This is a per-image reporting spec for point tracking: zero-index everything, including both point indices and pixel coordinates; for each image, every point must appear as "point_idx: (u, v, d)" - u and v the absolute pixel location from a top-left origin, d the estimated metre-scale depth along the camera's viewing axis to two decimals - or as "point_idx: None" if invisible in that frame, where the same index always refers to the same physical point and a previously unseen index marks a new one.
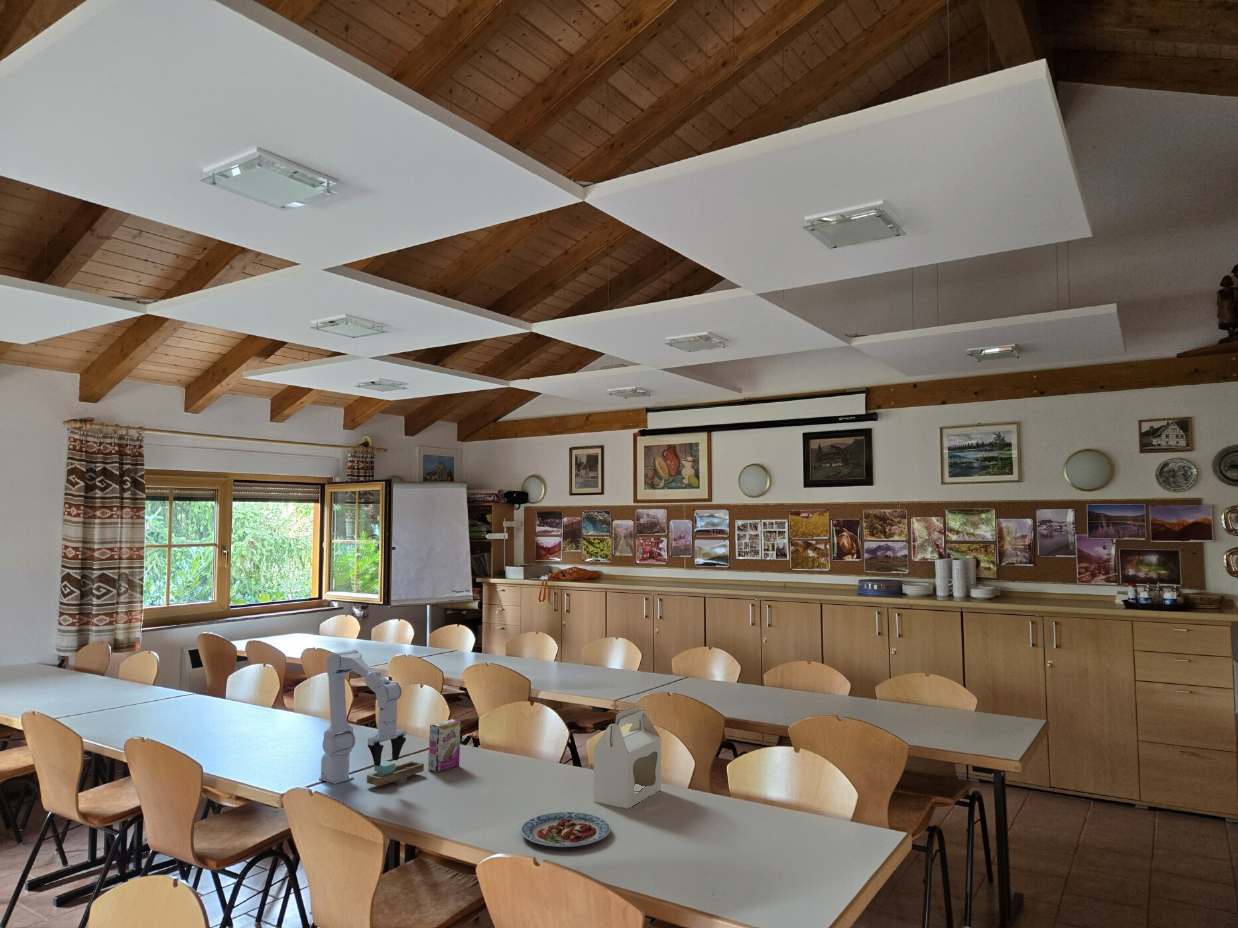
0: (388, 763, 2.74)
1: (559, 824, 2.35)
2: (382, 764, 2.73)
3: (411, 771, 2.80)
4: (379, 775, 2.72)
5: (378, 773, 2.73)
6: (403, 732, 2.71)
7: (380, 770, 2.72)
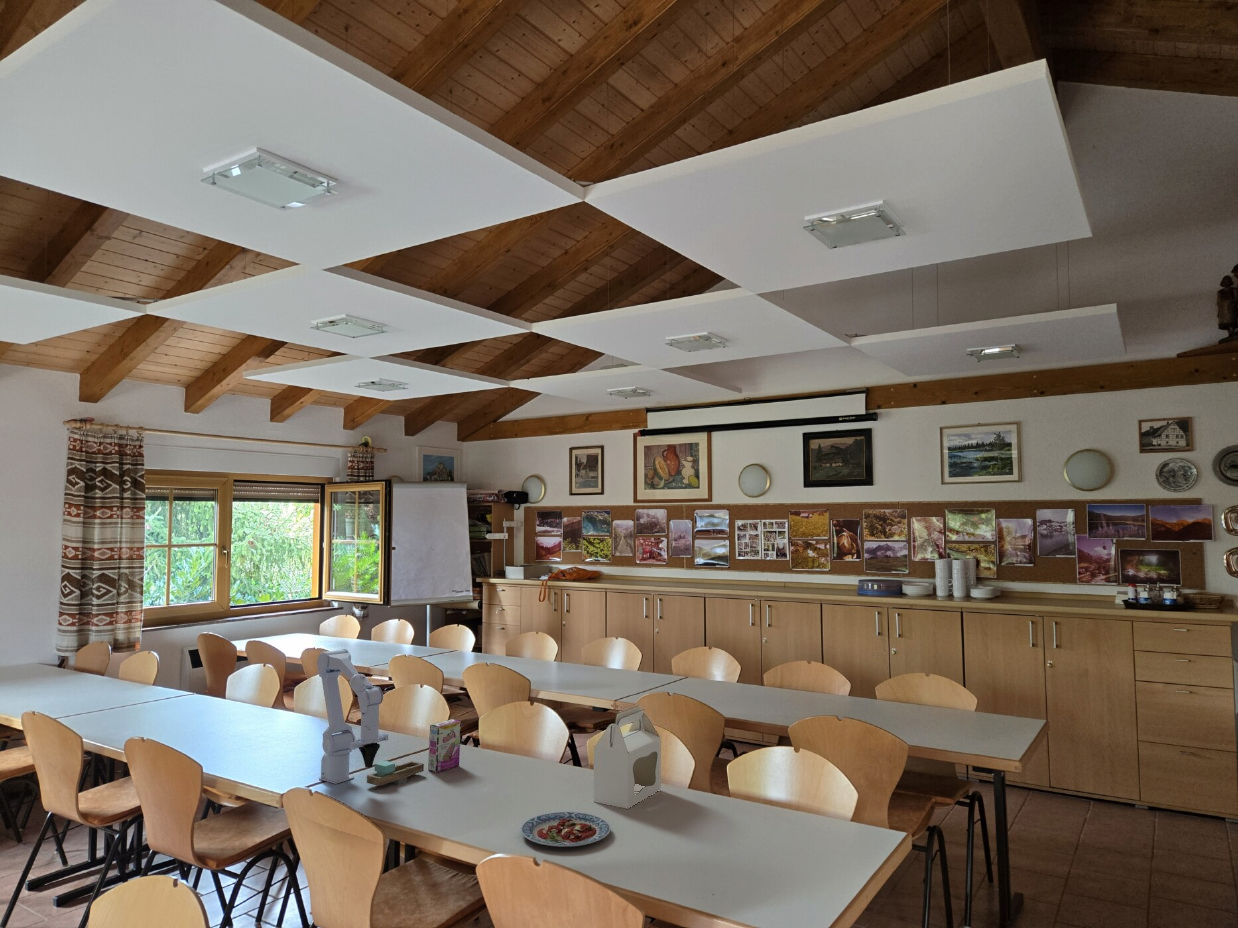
0: (388, 763, 2.74)
1: (559, 824, 2.35)
2: (382, 764, 2.73)
3: (411, 771, 2.80)
4: (379, 775, 2.72)
5: (378, 773, 2.73)
6: (385, 736, 2.73)
7: (380, 770, 2.72)
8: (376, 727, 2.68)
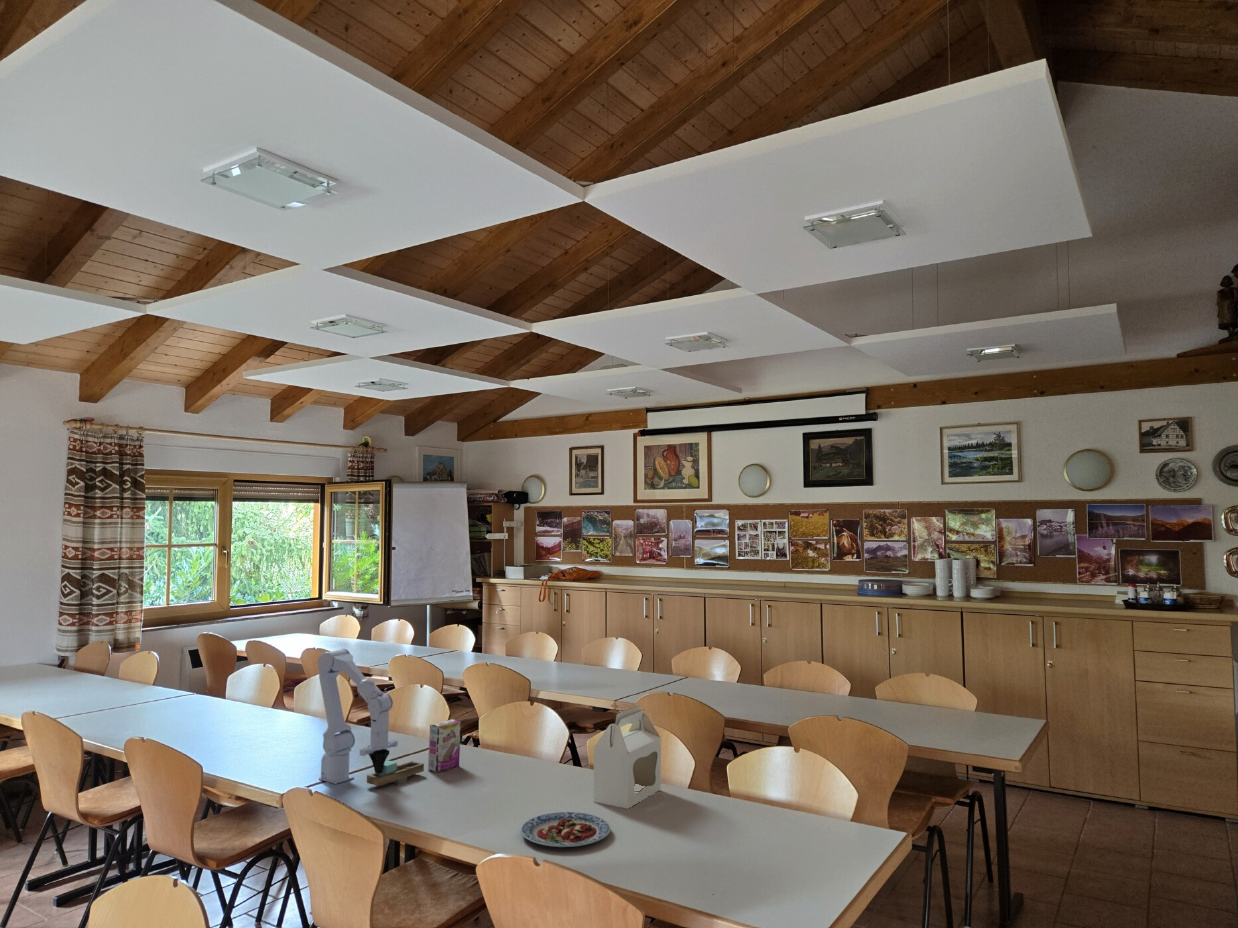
0: (390, 762, 2.75)
1: (559, 824, 2.35)
2: (384, 763, 2.74)
3: (411, 771, 2.80)
4: (381, 774, 2.73)
5: None
6: (395, 743, 2.77)
7: None
8: (386, 734, 2.72)
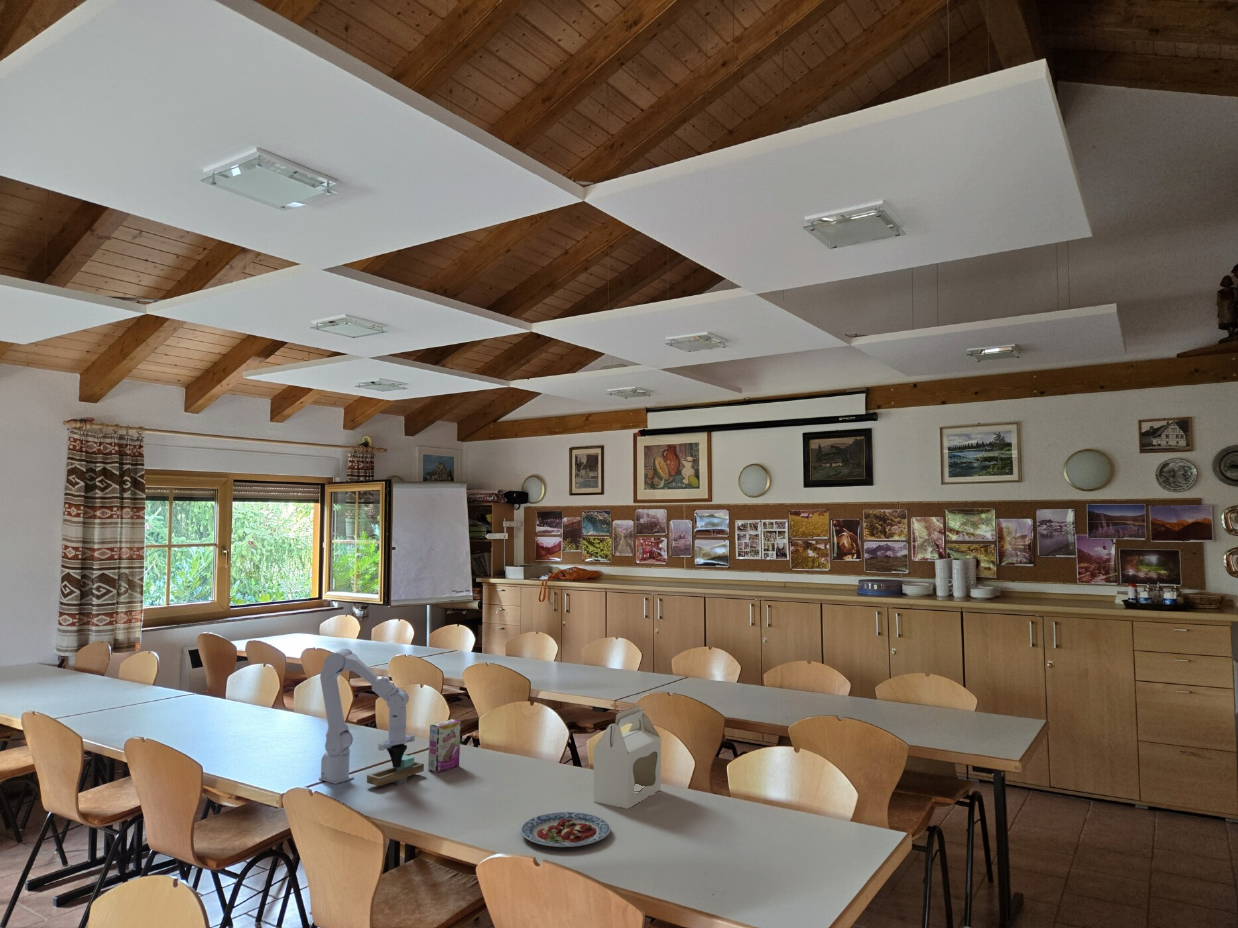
0: (407, 757, 2.81)
1: (559, 824, 2.35)
2: None
3: (411, 771, 2.80)
4: (399, 769, 2.80)
5: (398, 767, 2.80)
6: (412, 738, 2.83)
7: (400, 764, 2.79)
8: (403, 729, 2.78)
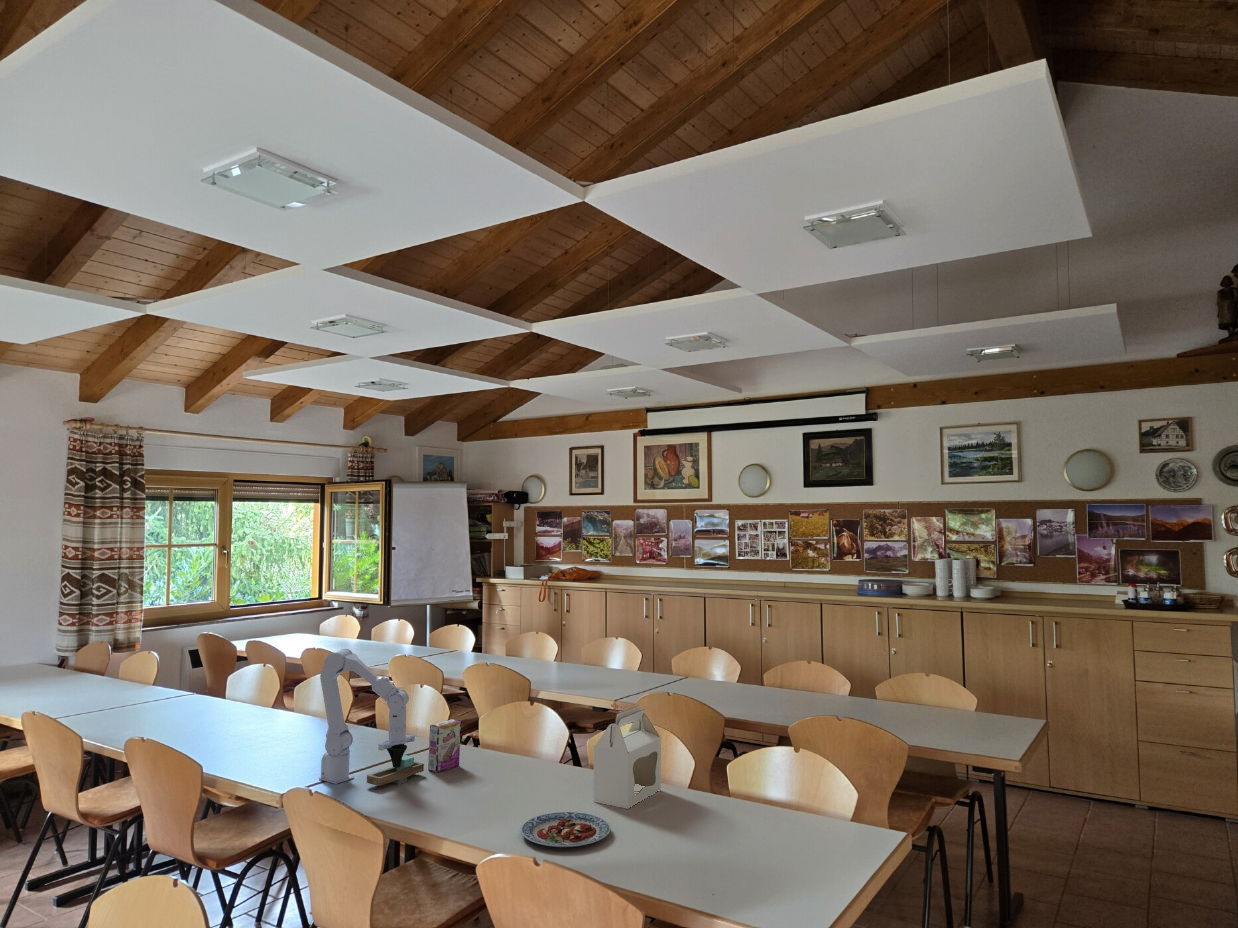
0: (407, 757, 2.81)
1: (559, 824, 2.35)
2: None
3: (411, 771, 2.80)
4: (399, 769, 2.80)
5: (398, 767, 2.80)
6: (412, 738, 2.83)
7: (400, 764, 2.79)
8: (403, 729, 2.78)
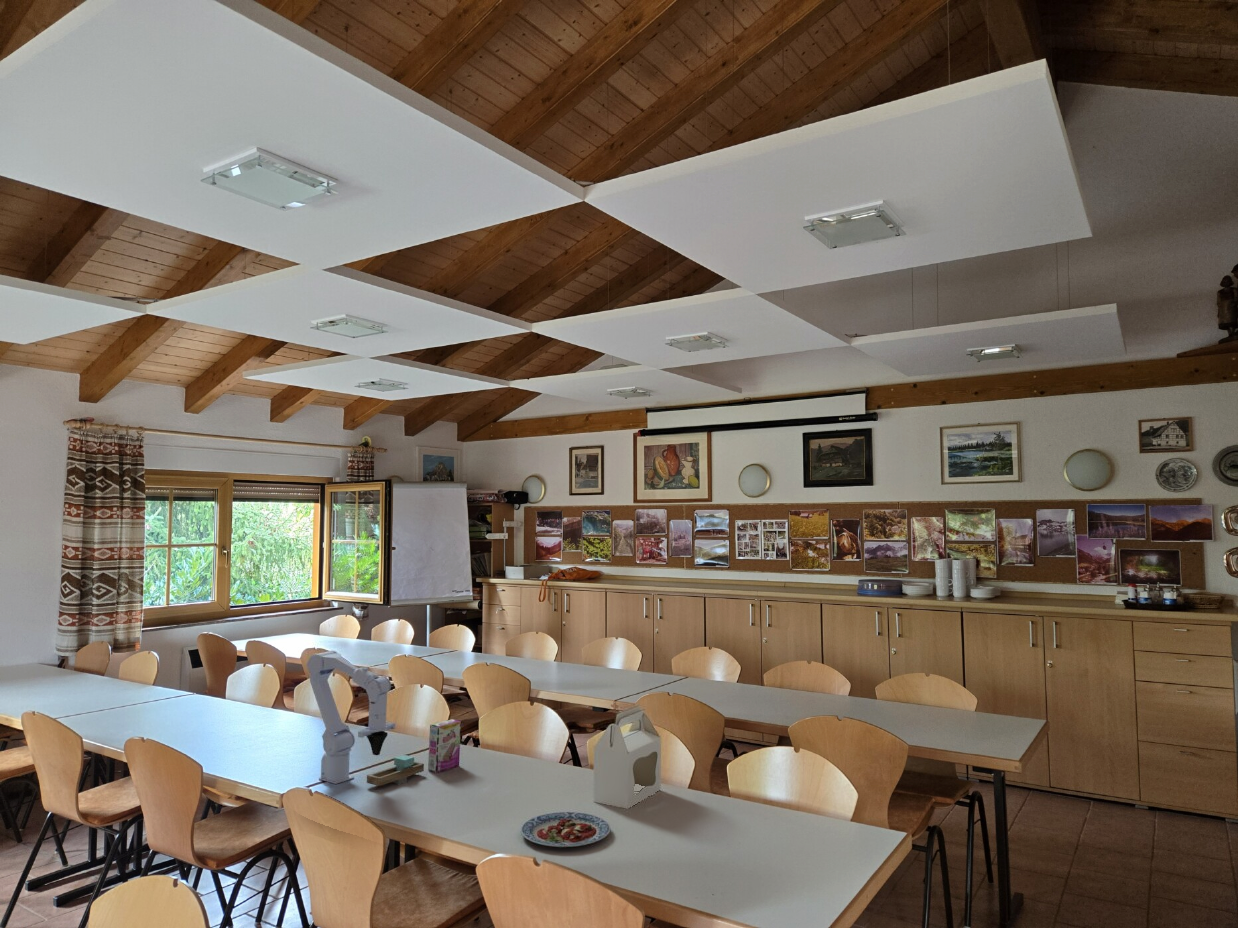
0: (407, 757, 2.81)
1: (559, 824, 2.35)
2: (401, 758, 2.80)
3: (411, 771, 2.80)
4: (399, 769, 2.80)
5: (398, 767, 2.80)
6: (392, 725, 2.79)
7: (400, 764, 2.79)
8: (384, 716, 2.74)
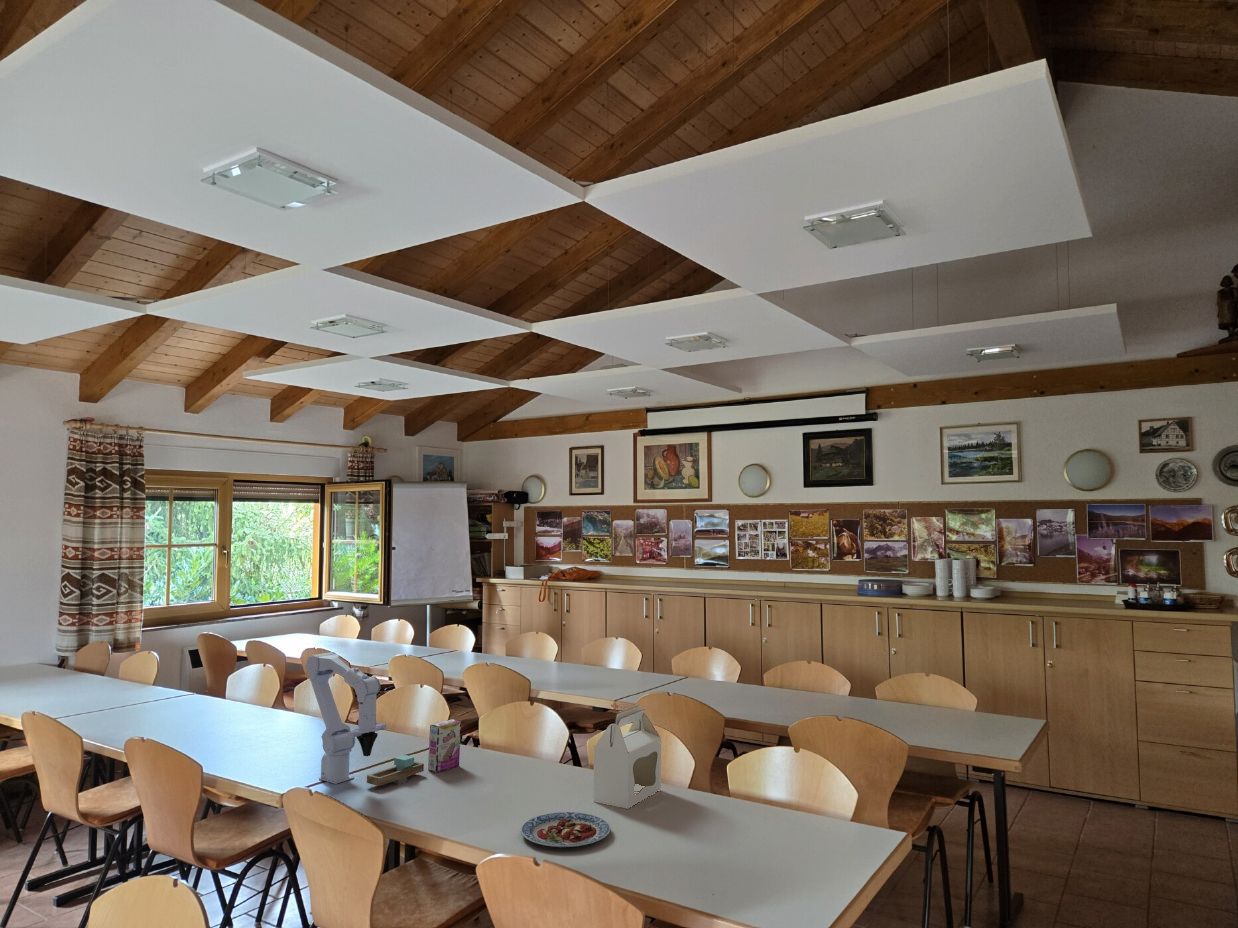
0: (407, 757, 2.81)
1: (559, 824, 2.35)
2: (401, 758, 2.80)
3: (411, 771, 2.80)
4: (399, 769, 2.80)
5: (398, 767, 2.80)
6: (383, 726, 2.77)
7: (400, 764, 2.79)
8: (374, 716, 2.72)
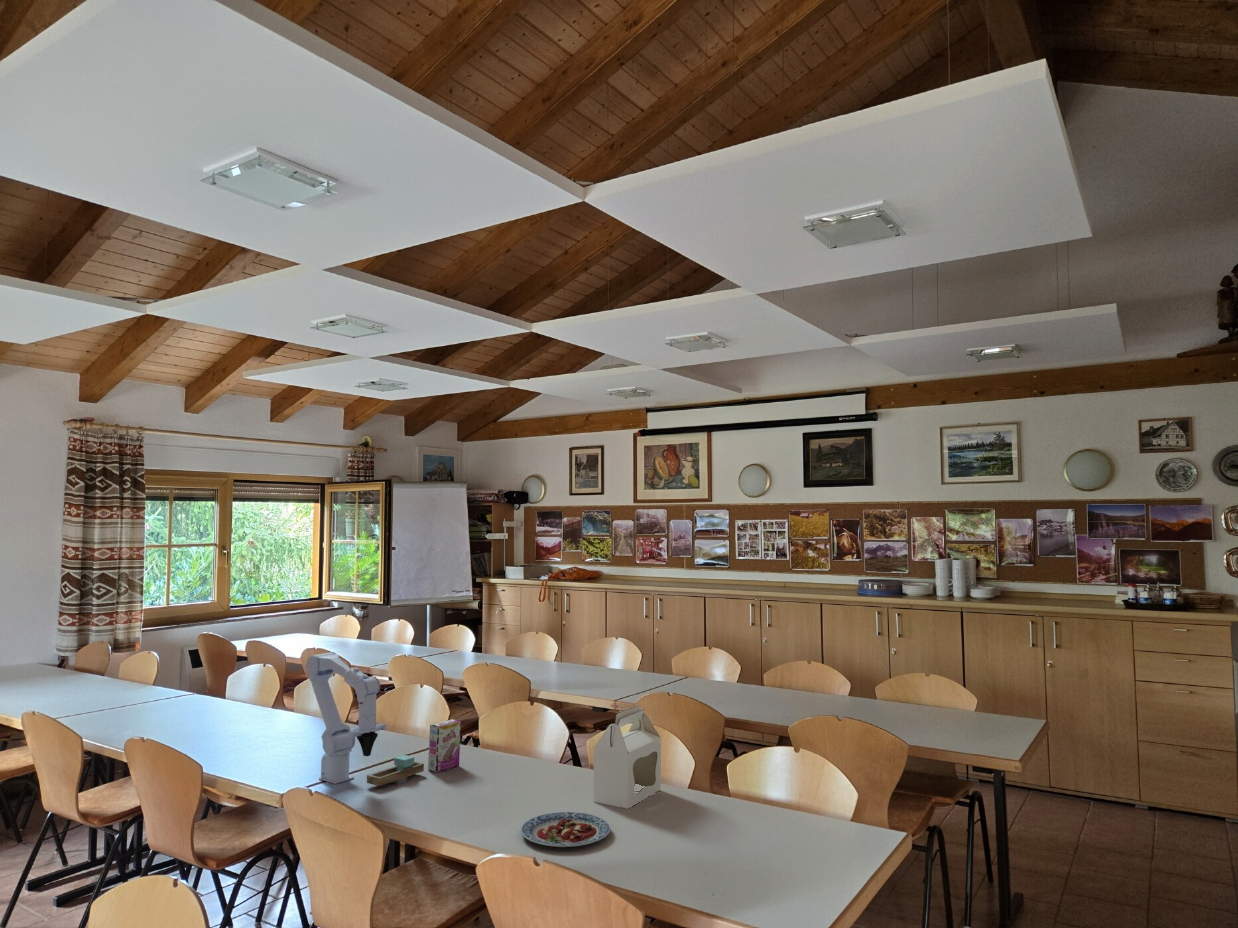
0: (407, 757, 2.81)
1: (559, 824, 2.35)
2: (401, 758, 2.80)
3: (411, 771, 2.80)
4: (399, 769, 2.80)
5: (398, 767, 2.80)
6: (383, 726, 2.77)
7: (400, 764, 2.79)
8: (374, 716, 2.72)
